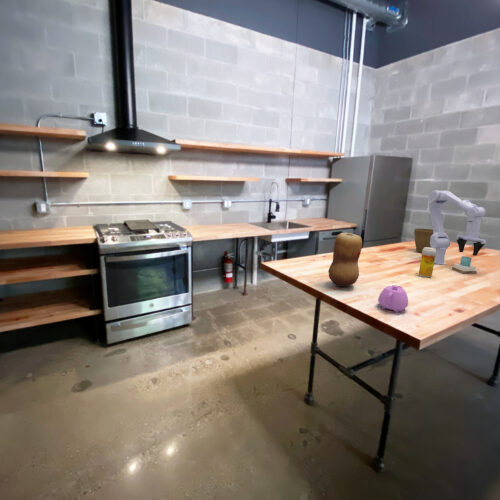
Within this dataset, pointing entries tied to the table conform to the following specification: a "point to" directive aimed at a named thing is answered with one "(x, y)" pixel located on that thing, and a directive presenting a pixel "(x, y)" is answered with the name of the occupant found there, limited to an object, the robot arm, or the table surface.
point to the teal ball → (465, 261)
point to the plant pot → (422, 238)
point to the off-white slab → (464, 267)
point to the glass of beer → (427, 262)
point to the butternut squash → (345, 259)
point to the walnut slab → (464, 271)
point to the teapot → (393, 298)
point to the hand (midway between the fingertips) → (467, 253)
